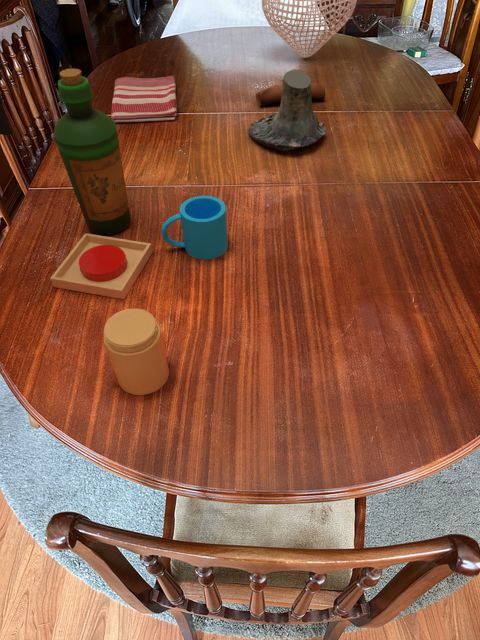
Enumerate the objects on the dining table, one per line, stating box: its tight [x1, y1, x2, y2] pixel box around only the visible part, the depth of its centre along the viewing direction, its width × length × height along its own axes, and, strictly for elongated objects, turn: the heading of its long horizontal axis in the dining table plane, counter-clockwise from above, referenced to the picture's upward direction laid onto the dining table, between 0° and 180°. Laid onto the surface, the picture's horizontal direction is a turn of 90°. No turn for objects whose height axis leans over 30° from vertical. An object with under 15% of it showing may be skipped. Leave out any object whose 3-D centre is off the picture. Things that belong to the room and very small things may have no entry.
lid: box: [79, 245, 128, 282], centre depth 90 cm, size 8×8×2 cm
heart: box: [261, 0, 357, 58], centre depth 150 cm, size 28×16×22 cm, turn 102°
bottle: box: [53, 68, 132, 236], centre depth 90 cm, size 11×11×28 cm
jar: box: [103, 308, 170, 396], centre depth 72 cm, size 8×8×10 cm
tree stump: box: [248, 69, 327, 152], centre depth 119 cm, size 18×20×18 cm
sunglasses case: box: [255, 82, 326, 107], centre depth 137 cm, size 18×7×7 cm
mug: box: [161, 195, 229, 260], centre depth 93 cm, size 12×8×8 cm
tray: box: [49, 232, 153, 300], centre depth 91 cm, size 13×13×2 cm
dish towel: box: [110, 75, 178, 124], centre depth 135 cm, size 17×23×3 cm
